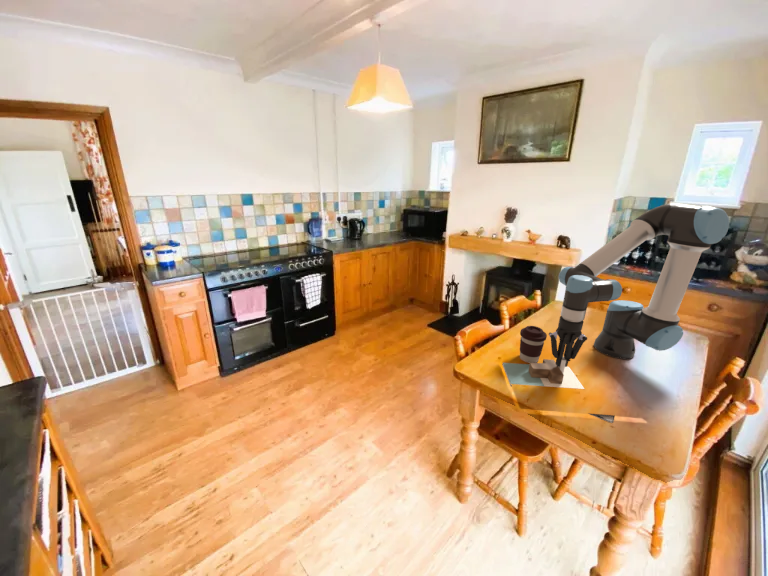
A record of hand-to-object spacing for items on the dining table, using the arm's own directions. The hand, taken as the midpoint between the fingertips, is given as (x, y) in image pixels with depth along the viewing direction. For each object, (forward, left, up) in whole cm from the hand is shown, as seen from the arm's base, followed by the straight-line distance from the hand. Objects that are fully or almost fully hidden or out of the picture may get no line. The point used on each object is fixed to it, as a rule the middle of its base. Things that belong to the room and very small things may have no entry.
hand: (559, 372), depth 125 cm
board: (+6, 0, -3) cm, 7 cm away
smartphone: (-10, +14, -3) cm, 17 cm away
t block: (+6, 0, -2) cm, 6 cm away
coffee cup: (+8, -12, -3) cm, 14 cm away
